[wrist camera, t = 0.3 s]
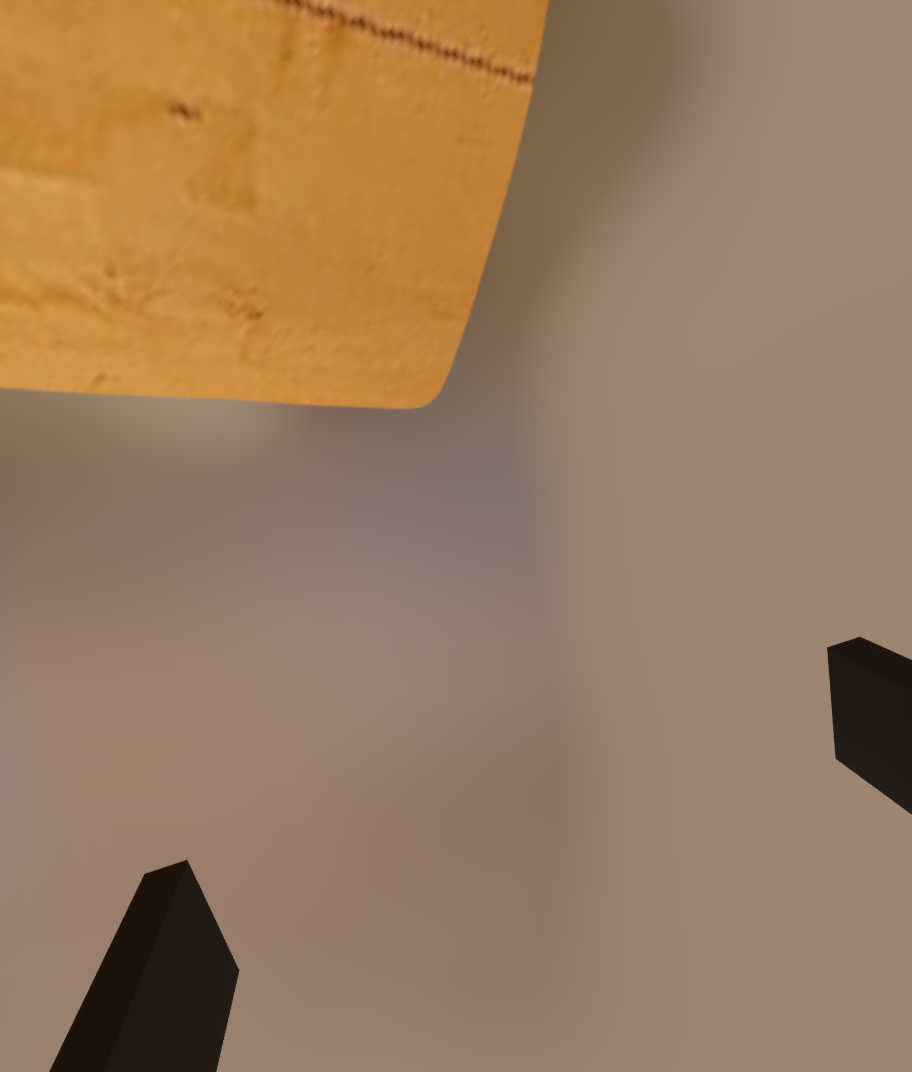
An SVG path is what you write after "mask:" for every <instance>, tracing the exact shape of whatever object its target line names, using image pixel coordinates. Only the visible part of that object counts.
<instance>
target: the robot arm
mask: <svg viewBox="0 0 912 1072" xmlns="http://www.w3.org/2000/svg"><path fill="white" fill-rule="evenodd" d="M827 651H828V664H829V677H830V691H831V705H832V718H833V731H834V743H835V756H836V759H837V760H838V761H839V762H841V763H842V764H844V765H845V766H846V767H848V768H849V769H850V770H852V771H853V772H854V773H856V774H857V775H859V776H860V777H861V778H863V779H864V780H865V781H867V782H868V783H869V784H871V785H872V786H874V787H875V788H876V789H878V790H879V791H880V792H882V793H883V794H884V795H886V796H887V797H889V798H890V799H892V800H893V801H894V802H895V803H897V804H898V805H900V806H901V807H902V808H904V809H905V810H906V811H908V812H909V813H910V814H912V660H910V659H908V658H906V657H904V656H902V655H899V654H897V653H895V652H893V651H890V650H888V649H886V648H884V647H882V646H879V645H877V644H875V643H873V642H870V641H868V640H866V639H864V638H862V637H858V638H855V639H852V640H849V641H846V642H843V643H840V644H837V645H834V646H830V647H827ZM238 974H239V969H238V967H237V965H236V962H235V960H234V959H233V956H232V954H231V952H230V950H229V948H228V946H227V943H226V941H225V939H224V937H223V935H222V933H221V931H220V928H219V927H218V924H217V922H216V920H215V918H214V916H213V914H212V911H211V909H210V907H209V905H208V903H207V901H206V899H205V897H204V895H203V892H202V890H201V888H200V886H199V884H198V882H197V880H196V878H195V875H194V873H193V871H192V869H191V867H190V865H189V863H188V860H185V861H182V862H179V863H176V864H173V865H170V866H167V867H164V868H161V869H158V870H155V871H152V872H149V873H146V874H144V876H143V878H142V881H141V882H140V885H139V887H138V889H137V891H136V893H135V895H134V897H133V899H132V901H131V903H130V905H129V907H128V910H127V911H126V914H125V916H124V918H123V920H122V922H121V924H120V926H119V928H118V930H117V932H116V935H115V937H114V938H113V941H112V943H111V945H110V947H109V949H108V951H107V953H106V955H105V957H104V959H103V961H102V963H101V966H100V968H99V970H98V972H97V974H96V976H95V978H94V980H93V982H92V984H91V986H90V989H89V991H88V993H87V995H86V997H85V999H84V1001H83V1003H82V1005H81V1007H80V1010H79V1011H78V1013H77V1015H76V1017H75V1019H74V1022H73V1024H72V1026H71V1028H70V1030H69V1032H68V1034H67V1036H66V1038H65V1040H64V1042H63V1045H62V1046H61V1049H60V1051H59V1053H58V1055H57V1057H56V1059H55V1061H54V1063H53V1065H52V1067H51V1069H50V1072H216V1071H217V1066H218V1062H219V1058H220V1053H221V1049H222V1044H223V1040H224V1035H225V1031H226V1027H227V1022H228V1018H229V1014H230V1009H231V1005H232V1000H233V996H234V992H235V987H236V983H237V978H238Z"/></svg>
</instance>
